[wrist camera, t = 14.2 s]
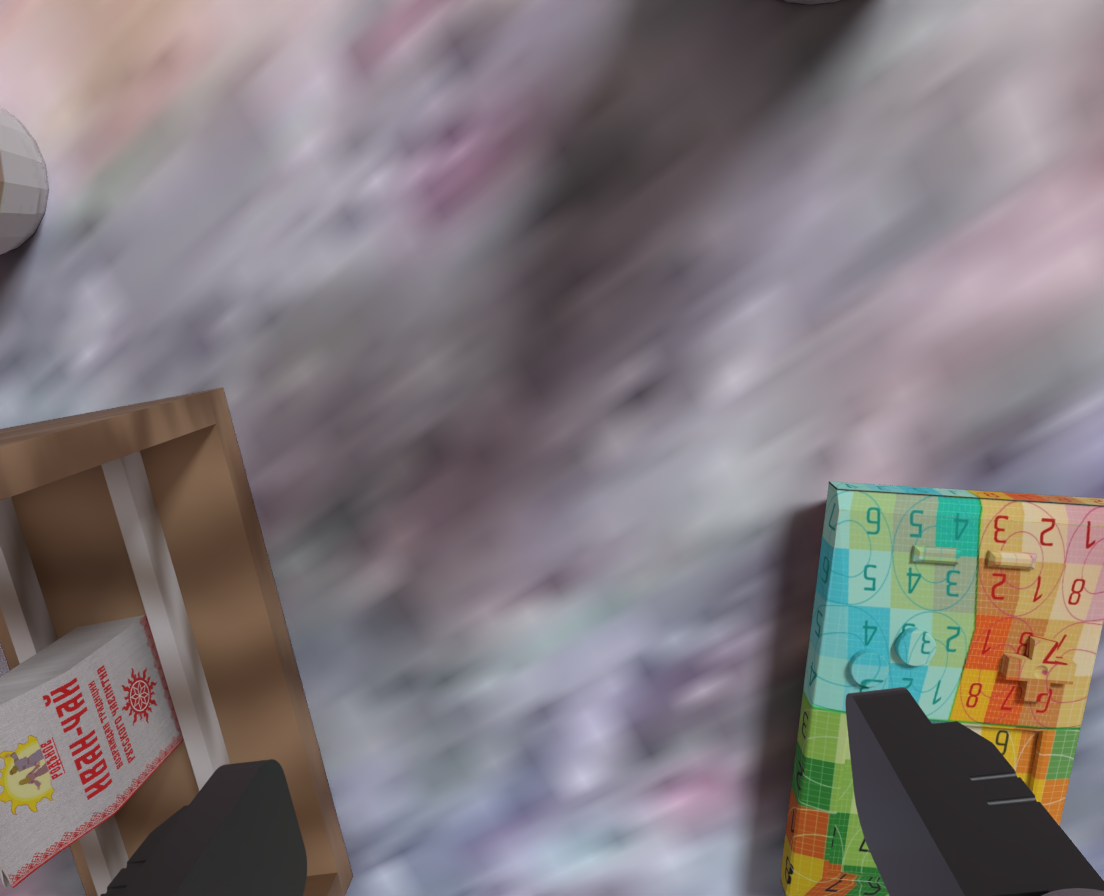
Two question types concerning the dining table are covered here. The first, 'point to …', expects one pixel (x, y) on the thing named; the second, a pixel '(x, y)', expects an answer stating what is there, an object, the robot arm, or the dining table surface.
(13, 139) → the coffee cup
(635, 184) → the dining table surface
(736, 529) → the dining table surface
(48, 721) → the white food carton
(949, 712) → the puzzle game
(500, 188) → the dining table surface
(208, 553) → the wooden rack
